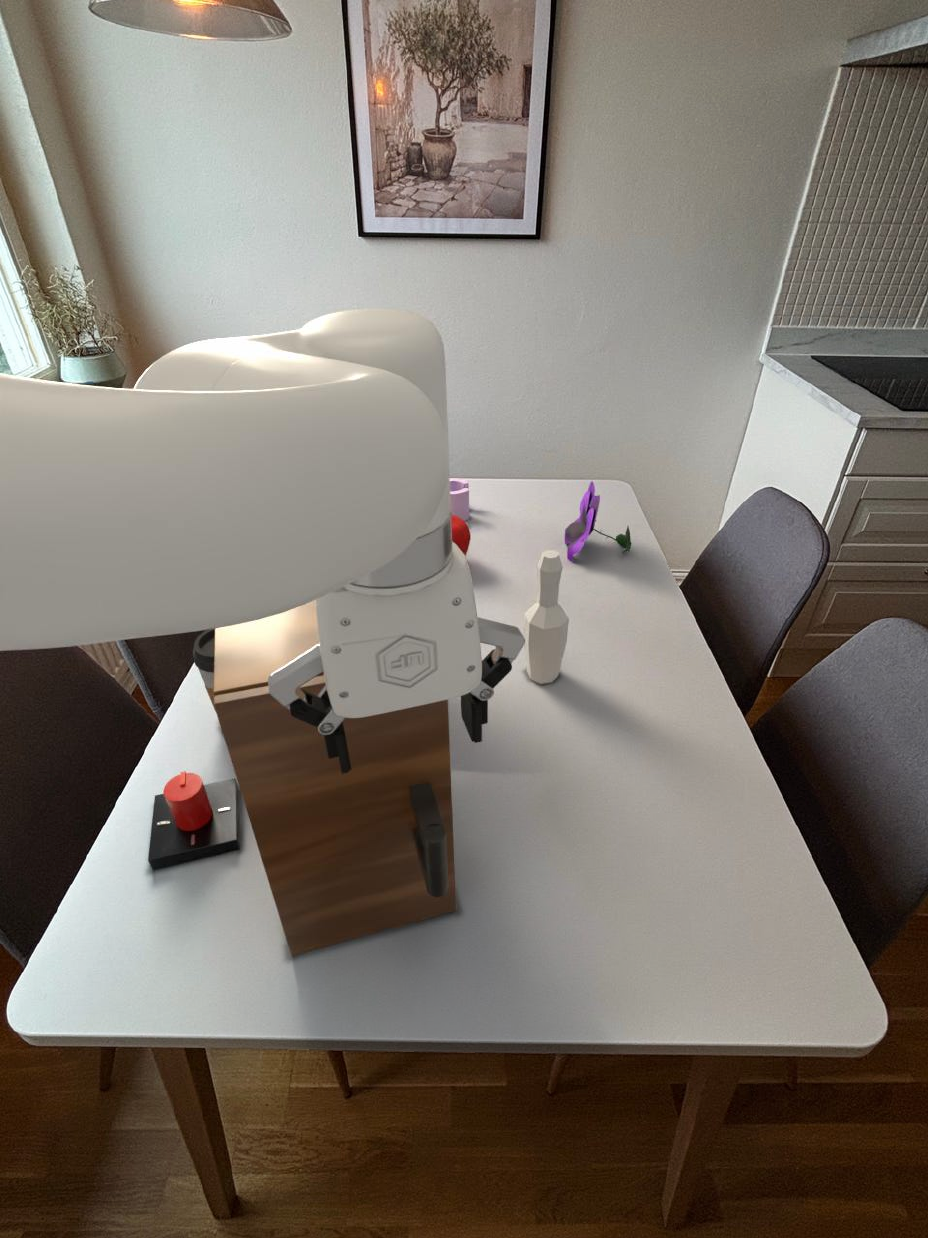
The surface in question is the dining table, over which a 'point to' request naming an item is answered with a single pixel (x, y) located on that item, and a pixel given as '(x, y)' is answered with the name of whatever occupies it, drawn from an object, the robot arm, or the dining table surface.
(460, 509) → the purple cup holder
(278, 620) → the cupboard
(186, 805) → the valve knob
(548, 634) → the faceted bottle
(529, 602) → the dining table surface
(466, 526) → the apple
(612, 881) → the dining table surface
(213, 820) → the valve panel
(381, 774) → the cupboard door
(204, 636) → the coffee cup
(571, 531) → the flower
